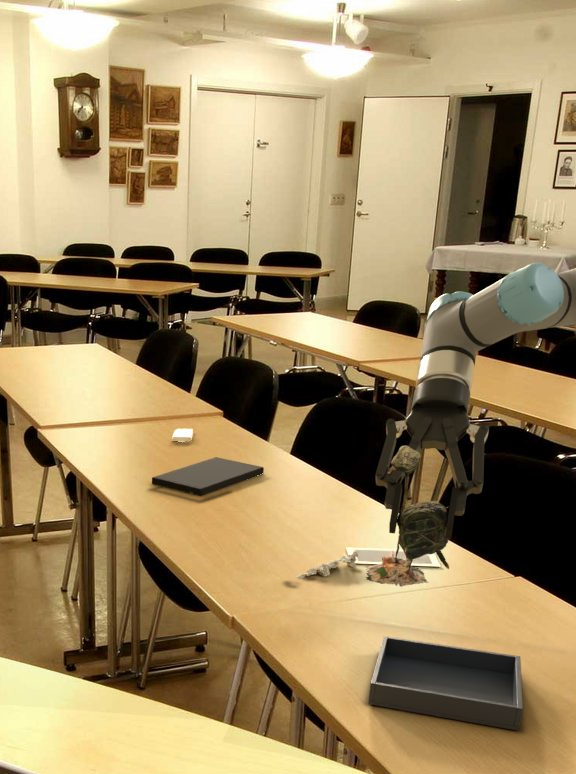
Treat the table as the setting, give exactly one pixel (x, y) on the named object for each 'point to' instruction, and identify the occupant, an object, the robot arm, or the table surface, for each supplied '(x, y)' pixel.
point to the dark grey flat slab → (207, 476)
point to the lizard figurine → (331, 565)
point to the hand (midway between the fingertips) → (420, 531)
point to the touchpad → (377, 554)
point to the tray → (448, 682)
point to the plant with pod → (412, 531)
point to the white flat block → (182, 435)
